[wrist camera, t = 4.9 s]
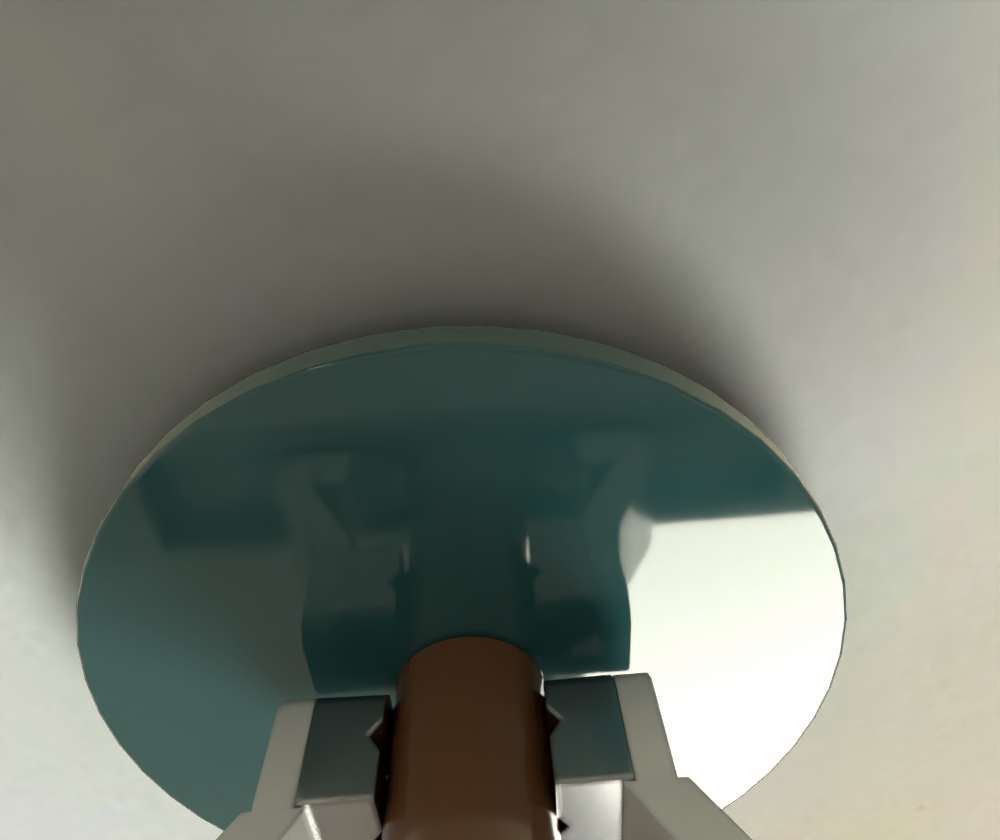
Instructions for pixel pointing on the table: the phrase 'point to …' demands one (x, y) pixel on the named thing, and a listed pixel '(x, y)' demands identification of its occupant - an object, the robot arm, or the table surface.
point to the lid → (459, 573)
